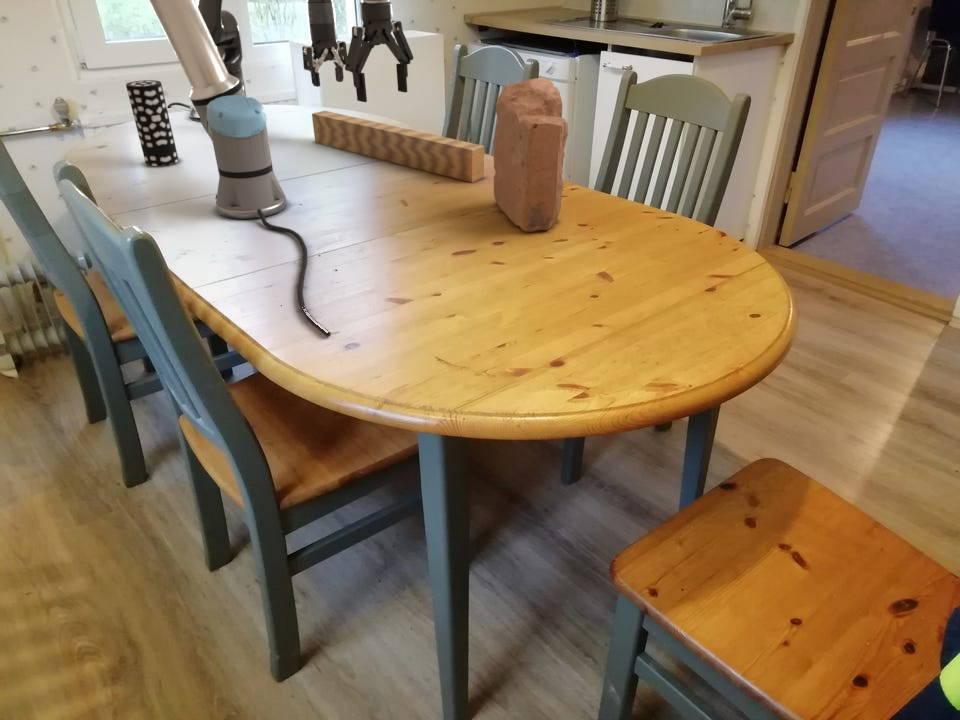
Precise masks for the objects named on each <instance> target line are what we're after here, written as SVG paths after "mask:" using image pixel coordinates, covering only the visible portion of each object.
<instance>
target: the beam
mask: <svg viewBox="0 0 960 720" xmlns="http://www.w3.org/2000/svg"><path fill="white" fill-rule="evenodd" d="M311 120H312V127H313V128H312V129H313V137H314V142H315V143H317V144H321V145H325V146H329V147H333V148H337V149H339V150H345V151H349V152H352V153H356V154H360V155H363V156H368V157H372V158H376V159H380V160H384V161H387V162H392V163H395V164H398V165H402V166H407V167H410V168H414V169H418V170H422V171H426V172H430V173H434V174H437V175H442V176H445V177H448V178H449V177H450V178H452V179H457V180H461V181H465V182H468V183H475V182H478V181H480V180H482V179H484V178H485V145H481V144H477V143H473V142H468V141H463V140H459V139H456V138H455V139H453V138H450V137H446V136H441V135H437V134H432V133H428V132H422V131H419V130H414V129H410V128H406V127H405V128H404V127H401V126H396V125H391V124H387V123H383V122H378V121H373V120H369V119H364V118H359V117H355V116H351V115H347V114H342V113H338V112H332V111H328V110H322V111H318V112H312V113H311Z"/></svg>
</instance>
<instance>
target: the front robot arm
mask: <svg viewBox="0 0 960 720" xmlns="http://www.w3.org/2000/svg"><path fill="white" fill-rule="evenodd" d="M148 2H149V4H150V6H151V8H152V10H153V12H154V14H155V16H156V18H157V20H158V23H159V24H160V26H161V29H162V30H163V32H164V35H165V36H166V38H167V41H168V42H169V44H170V46H171V48H172V50H173V52H174V54H175V57H176V58H177V60H178V62H179V64H180V66H181V69H182V70H183V72H184V74H185V76H186V78H187V80H188V82H189V84H190V86H191V90H190V95H189V99H190V101H191V104H192V105H193V106H194V107H193V108H194V110H195V111H196V113H197V116H198V118H200V119H201V121H200V123H201V125H202V128H203V129H204V131H205V132H206V133H207V135H208V136H209V138H210V140H211V142H212V147H213V151H214V156H215V161H216V167H217V169H218V170H217V172H218V185H217V193H216V195H215V206H216V210H217V213H218V214H219V215H221V216H223V217H225V218H229V219H236V220H253V219H261V222H262V225H263V226H265V227H266V228H268V229H270V230H274V231H277V232H283V233H287V234H290V235H292V236H293V237H294V238H295V239H297V242H298V243H299V246H300V248H301V250H302V263H301V268H300V272H299V277H298V284H297V300H298V301H297V302H298V305H299V308H300V311H301V312H302V314H303V315H304V317H305V319H306V320H307V321H308V322H309V323H310V324H311V325H312V327H314V328H315V329H316V330H318V331H320V332H321V333H322V334H323V335H324V336H325V337H327V338H329V337H331V335H332V333H331V332H330V331H329V330H328V329H327V328H325V327H324V328H325V329H326V330H327V331H329V332H328V333H326V332H325V331H324V330H323V329H321V328H320V327H319V326H318V325H316V324H315V323H314V322H313V321H312V320H311V319H310V318H309V317H308V316H307V315H306V313H305V312H306V311H305V312H304V310H303V309H305V308H306V310H307V312H308V313H309V314H310V312H309V311H308V309H307V307H306V304H305V299H304V282H305V278H306V277H305V276H306V270H307V267H308V249H307V245H306V242H305V241H304V239H303V238H302V236H301V235H300V234H299V233H298V232H297V231H295V230H293V229H290V228H287V227H284V226H279V225H274V224H271V223H269V222H268V221H267V219H266V218H267V217H270V216H274V215H276V214H278V213H280V212H282V211H283V210H285V209H286V207H287V199H286V194H285V193H284V191H283V189H282V187H281V184H280V182H279V180H278V179H277V177H276V175H275V172H274V167H273V160H272V154H271V148H270V140H269V135H268V127H267V115H266V113H265V110H264V107H263V105H262V103H261V101H259V100H258V99H256V98H253V97H248V96H247V93H246V94H245V92H244V90H243V88H242V86H241V83H240V81H239V79H238V78H236V77H234V76H232V75H230V74H229V73H228V71H227V69H226V67H225V65H224V63H223V60H222V58H221V56H220V54H219V52H218V50H217V47H216V45H215V43H214V41H213V39H212V37H211V34H210V32H209V30H208V28H207V26H206V24H205V22H204V19H203V17H202V15H201V13H200V11H199V9H198V3H197V2H196V0H148ZM358 6H359V16H360V17H359V18H360V19H361V21H362V26H356V25H354V26H352V27H351V40H350V42H349V48H348V51H347V60H346V64H345V65H344V70H345V71H346V72H349V73H351V74H352V81H353V87H354V88H355V91H356V101H357V102H362V103H368V97H367V96H368V95H367V87H366V76H365V73H364V72H362V71H363V69H364V67H365V65H366V63H367V60H368V58H369V56H370V54H371V52H372V49H374V48H375V46H380V45H386V47H387V48H388V49H389V51H390V52H391V54H392V55H393V56H394V58H395V59H396V61H397V62H398V63H395V68H396V81H397V82H396V83H397V92H400V93H405V94H406V93H408V81H407V80H408V78H409V77H408V76H409V70H408V69H409V68H408V65H410V64H411V61H413V60H414V55H413V52H412V50H411V48H410V45H409V43H408V40H407V38H406V35H405V33H404V31H403V23H402V21H400V20H392V19H393V17H394V16H393V4H392V2H391V1H390V0H361V1H360V2H359V4H358ZM304 306H305V307H304ZM302 307H303V308H302ZM310 316H311V317H312V318H313V319H314V320H315V321H316V322H317V323H319V322H318V321H317V320H316V319H315V318H314V317H313V316H312V314H310ZM320 325H321V326H323V325H322V324H320Z"/></svg>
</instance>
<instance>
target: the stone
mask: <svg viewBox="0 0 960 720" xmlns="http://www.w3.org/2000/svg"><path fill="white" fill-rule="evenodd" d="M554 85H555V84H554V83H553V81H551V80H550V79H549V78H546V77H539V78H538V77H537V78H530V79H526V80H522V81H521V82H517V83H509V84H507V85H506V86H504V88H503V89H502V90H501V92H500V94H499V96H498V97H497V100H496V102H495V114H496V124H495V130H494V138H493V169H494V172H495V173H494V175H493V197H494V200H495V204H496V205H497V206H498V207H499V209H500V210H501V211H502V212H503V213H504V214H505V215H506V217H508V219H509V220H510V221H511V222H512V223H513V224H514V225H515V226H517V227H519V228H520V230H522V231H523V232H537V231H546V230H549V229H551V227H552V226H554V224H555V223H557V221H558V218H559V214H560V213H561V209H562V198H563V192H564V191H563V190H564V181H563V172H564V171H563V170H564V169H563V167H564V159H565V155H566V154H565V148H566V144H567V140H568V139H567V138H568V135H569V123H568V122H567V120H566V119H565V118H563V116H562V115H563V101H562V97H561V92H560V90H559V88H558V87H557V86H554Z"/></svg>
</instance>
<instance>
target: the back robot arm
mask: <svg viewBox="0 0 960 720" xmlns="http://www.w3.org/2000/svg"><path fill="white" fill-rule="evenodd" d="M197 6H198V9H199V11H200V13H201V15H202V17H203V19H204V22H205V24H206V26H207V28H208V30H209V32H210V34H211V37H212V39H213V41H214V43H215V45H216V47H217V50H218V52H219V54H220V56H221V58H222V60H223V63H224V65H225V67H226V69H227V71H228V73H229V74H230V75H232V76H234V77H236V78H238V79H239V81H240V83H241V86H242V88H243V90H244V92H245V94H246V95H247V91H246V85H245V80H244V74H243V67H242V62H243V48H242V39H241V32H240V27H239V23H238V20H237V19H236V17H235V16H234V14H233V13H231V12H230V11H229V10H226V9H222V7H223V0H197ZM306 18H307V26H308V35H309V40H310V42H311V45H310V46H305V45H303V46H302V49H301V50H302V64H303V70H304V71H308V72H310V79H311V83H312V85H313V87H316V88H319V87H321V79H320V72H319V70H320V68H321V66H322V65H323V63H325V62H328V61H330V62H332V64H333V65H334V74H335V81H336V82H339V83H342V82H344V77H345V76H344V68H345V64H346V60H347V56H348V49H347V43H346V41H341V40H338V25H337V17H336V9H335V3H334V0H306ZM173 106H181V107H184V108H187V109H189V111H188V115H187V116H188V118H189V119H191V120H193V121H199V122H201V119H200V117H199V116H198V117H197V116H193V112H194V110H195V107H193V106H192V105H189V104H186V103H182V102H177V101H173V102H170V103H169V104H168V105H167V109H170V108H171V107H173Z"/></svg>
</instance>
